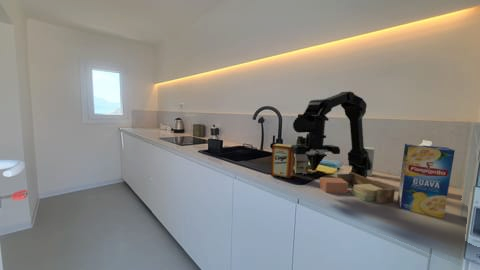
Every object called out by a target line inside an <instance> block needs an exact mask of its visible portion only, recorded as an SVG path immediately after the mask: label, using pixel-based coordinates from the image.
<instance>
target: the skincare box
mask: <svg viewBox="0 0 480 270" xmlns="http://www.w3.org/2000/svg"><path fill="white" fill-rule="evenodd" d="M364 148H365V150H366V151H367V152H368V156H369V159H370V161H371V163H372V168H371V170H367V177H368V176H369V177H373V170H374V159H375V148H374V147H372V146H371V147H370V146H364Z"/></svg>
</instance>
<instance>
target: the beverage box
mask: <svg viewBox="0 0 480 270" xmlns="http://www.w3.org/2000/svg"><path fill="white" fill-rule="evenodd" d="M403 150H404V151H403V158H402V165H401V171H400V179H399V188H398V194H397V200H396V201H397V204H398V207H399V209H400V210H405V211H410V212H414V213H418V214H421V215H427V216H431V217H435V218H440V219H443V218H445V212H446V208H447V207H446V206H447V199H448V194H449V189H450V183H451V177H452V176H451V175H452V170H453V165H454V164H453V163H454V157H455V151H456V150H454V149H452V148H449V147H447V146H434V145H432V146H424V145H419V144H412V143H411V144H410V143H404V149H403Z"/></svg>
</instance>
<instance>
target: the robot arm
mask: <svg viewBox="0 0 480 270" xmlns="http://www.w3.org/2000/svg"><path fill="white" fill-rule="evenodd" d="M337 106H341V108H342V109H343V110H344V113H345V116H346V118H347V119H348V120H349V127H350V128H349V129H350V142H351V143H350V144H351V149H350V151H349V152H347V160H348V166H349V167H351V170H350V172H353V173H355V174H358V175H360V176H363V177H365V178H368V176H367V170H371V168H372V163H371V161H370V159H369V156H368V152H367V151H366V150H365V148H364V147H365V145H364V130H363V129H364V128H363V118H364V116H365V114H366V112H367V107H368V106H367V102H366V101H365V100H364V99H363V97H361V96H359V95H357V94H355V93H354V92H353V91H342V92H340V93H337V94H335V95H332V96H329V97H326V98H321V99H313V100H312V99H311V100H309V102H308V104H307V106H306V107H305V109H304V111H303V112H302V113H298V114H297V117H296V118H295V119H294V121H293V122H292V128H293V130H294V131H295V132H296V133H300V134H302V133H306V137H303V136H304V135H303V136H301V135H299V136H297V138H296V142H297V144H301V145H296V144H292V146H291V148H290V152H293V153H295V154H306V155H307V157H308V159H309V162H308V163H309V165H310V168H311V171H314V172H315V171H316V170H317V168H318V166H319V165H320V164H321V162H322V161H323V159H324V158H325V157H327V155H328V154H326V153H327V152H329V153H330V152H331V154H332V155H340V154H341V148H340V147H339V146H337V145H332V144H324V140H325V139H326V138H327V135H325V130H326V129H325V126H326V121H329V117H327V115H328V114H329V113H330V112H331V111H332V109H333V108H335V107H337ZM305 146H307V147H305ZM295 154H294V155H295Z"/></svg>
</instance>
